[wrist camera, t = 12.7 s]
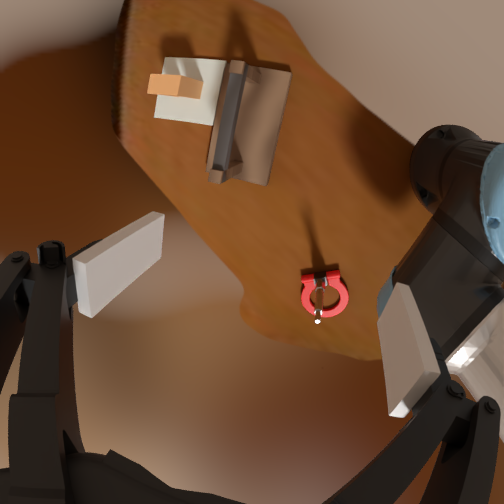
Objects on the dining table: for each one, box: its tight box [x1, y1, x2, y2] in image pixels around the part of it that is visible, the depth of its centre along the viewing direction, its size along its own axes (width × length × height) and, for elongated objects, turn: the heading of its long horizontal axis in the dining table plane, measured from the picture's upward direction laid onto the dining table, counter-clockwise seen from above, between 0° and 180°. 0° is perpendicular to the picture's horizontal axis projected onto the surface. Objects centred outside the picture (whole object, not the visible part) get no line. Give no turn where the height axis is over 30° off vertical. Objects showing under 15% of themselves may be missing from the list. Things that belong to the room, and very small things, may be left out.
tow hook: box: [301, 270, 349, 324], centre depth 47 cm, size 8×13×9 cm
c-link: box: [147, 74, 203, 99], centre depth 39 cm, size 5×3×8 cm, turn 79°
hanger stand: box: [206, 60, 292, 186], centre depth 39 cm, size 10×18×12 cm, turn 169°
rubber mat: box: [154, 57, 227, 126], centre depth 43 cm, size 11×11×1 cm
